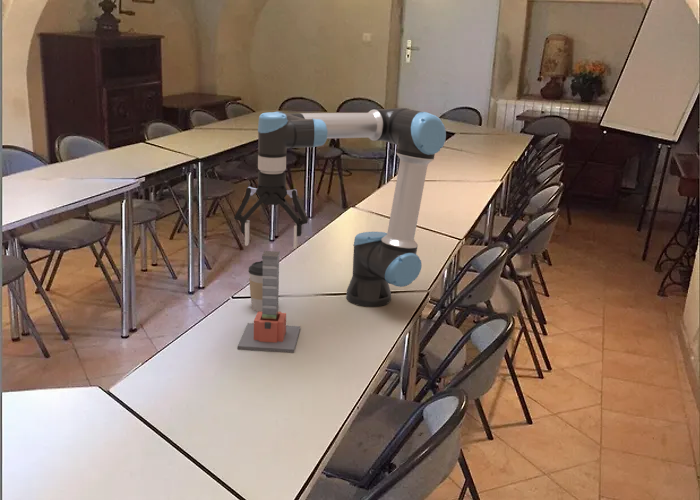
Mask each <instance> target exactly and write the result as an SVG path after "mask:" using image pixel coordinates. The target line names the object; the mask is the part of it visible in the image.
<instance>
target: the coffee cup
mask: <svg viewBox="0 0 700 500" xmlns="http://www.w3.org/2000/svg"><path fill="white" fill-rule="evenodd" d="M248 273H249V274H248V276H249V279H248V281H249V291H250V293H249V294H250V300H251V301H250V302H251V309H252V310H253V311H256V312H258V311H259V312H262V295H263V288H262V286H263V260H260V261H256V262H253V263H252V264H251V265H250V266H248Z"/></svg>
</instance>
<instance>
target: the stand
mask: <svg viewBox="0 0 700 500" xmlns="http://www.w3.org/2000/svg"><path fill="white" fill-rule="evenodd" d="M256 312H257V313H256V315H255V317H254V319H253V322H252V323H251V322H247V324H246V327H245V329H244V330H243V333H242V335H241V337H240V340H239V342H238V344H237V350H241V351H242V350H245V351H258V352H259V351H260V352H261V351H262V352H277V353H291V354H294V353H295V349H296V347H297V343H298V339H299V336H300V332H301V325H289V324H287V313H286V312H282V311H278V316H277V318H276V319H265V318H262V311H256Z"/></svg>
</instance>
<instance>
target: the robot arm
mask: <svg viewBox="0 0 700 500" xmlns="http://www.w3.org/2000/svg"><path fill="white" fill-rule="evenodd" d="M257 122H258V123H257V124H258V126H257V134H258V135H257V137H258V141H257V143H258V147H257V148H258V149H257V150H258V154H257V169H258V170H259V171H258V172H257V188H255V187H252V186H251V185H249V186H248V187H246V190H245V196H244V198H243V200H242V202H241V204H240V205H239V206H238V207H239V208H238V210H237V212H236V213H235V216H234V221H239V222H240V232H241V234H244V246H246V247H247V246H249V244H250V220H248V219H249V218H250V217H251V215H253V214H254V212H256V210H257V209H258V208H259V207H260V206H261V205H262V203H263V204H264V205H265V206H270V205H273V206H278V205H279V206H281V208H283V210H284V211H285V212H286V213H287V214H288V215H289V217H290V218H291V219H292V221H293V222H294V225H293V249H297V248H298V238H299V237H301V235H302V229H303V227H302V226H303V225H306V224H307V225H308V222H309V216H308V215H307V213H306V211H305V209H304V207H303V204H302V203H301V200H300V198H299V196H298V195H299V193H298V189H297V188H293V189H287V173H286V172H285V171H287V149H296V148H314V147H316V148H317V147H322V146H324V145H325V144H326V142H327V140H328V139H359V138H361V139H362V138H365V139H367V138H368V139H369V140H370V141H373V142H375V141H377V142H378V141H379V142H380V141H381V142H386V143H388V144H393V145H397V147H396V156H398V159H399V165H398V170H397V171H398V172H397V175H396V183H395V188H394V194H393V199H392V203H391V204H392V205H391V210H390V215H389V221H388V226H387V227H388V228H387V232H384V231H363V232H359V233H357V234H356V235H355V236H354V240H353V244H352V245H353V255H352V256H353V258H352V259H353V260H352V276H351V279H350V281H349V284H348V286H347V290H346V295H345V296H346V300H347V301H348V302H350V303H351V304H353V305H356V306H359V307H360V306H361V307H366V308H367V307H370V308H372V307H373V308H374V307H375V308H376V307H381V306H385V305H387V304H389V303H390V302H391V300H392V291H391V288H390V285H392V286H395V287H399V288H401V287H406V286H409V285H411V284H412V283H413V281H416V280H417V278H418V277H419V275H420V273H421V270H422V260H421V259H420V256H418V254H417V251H418V246H419V245H418V243H417V242H416V240H415V235H416V231H417V225H418V221H419V215H420V208H421V204H422V199H423V192H424V186H425V182H426V176H427V170H428V165H429V164H430V163H431V162H432V161H434V160H435V155H436V154H437V153H439V152H440V151H441V149H442V148H443V147H444V146H445V142H446V139H447V132H446V126H445V124H444V123H443V121H442V120H441V118H440V117H438V116H437V115H435V114H432V113H430V112H427V111H420V110H415V109H410V108H406V107H395V108H394V107H393V108H382V109H381V108H380V109H379V108H378V109H371V110H369V111H368V112H314V113H313V112H311V113H310V112H305V113H304V112H297V113H296V112H293V113H292V112H289V113H286V112H284V111H274V112H272V111H271V112H270V111H269V112H263V113H261V114H260V115H259V116H258V121H257ZM255 193H256V195H257V196H258V198H259V199H257V201H256V202H255V203H253V205H252V206H251V207H250V208H249V209H248V211H246V212H245V214H244V215H243V212H244V210H245V209H246V206H247V204H248V203H249V200H250V199H251V196H252V197H253V195H255ZM287 195H288V196H289V198H290V199H291V198H292V201H293V204H294V206H295V208H296V210H297V212H298V214H299V215H298V214H297V213H296V211H295V210H294V209H293V207H292V206H291V205H290V204H289V203H288V201H287V199H286V196H287Z"/></svg>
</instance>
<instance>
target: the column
mask: <svg viewBox="0 0 700 500" xmlns="http://www.w3.org/2000/svg"><path fill="white" fill-rule="evenodd" d="M280 256H281V252H280V251H276V250H275V251H274V250H273V251H272V250H264V252H263V253H262V255H261V259H262V261H263V286H262V288H263V295H262V311H261V312H262V318H265V319H276V318H277V316H278V312H279V292H280V291H279V288H280V287H279V282H280V276H279V275H280Z"/></svg>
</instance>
